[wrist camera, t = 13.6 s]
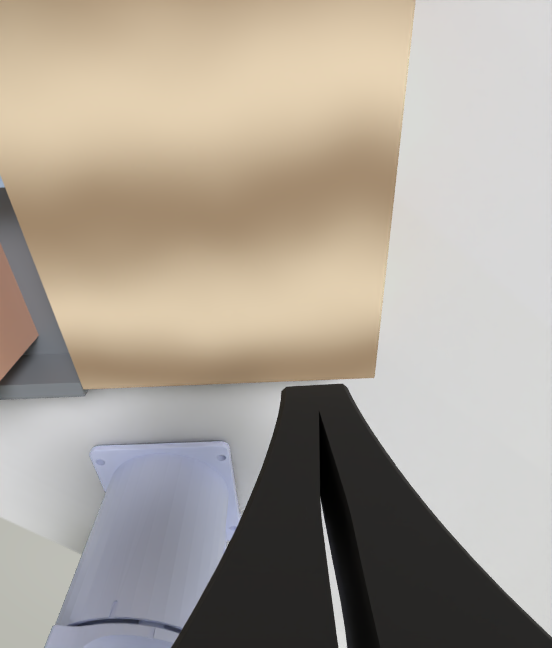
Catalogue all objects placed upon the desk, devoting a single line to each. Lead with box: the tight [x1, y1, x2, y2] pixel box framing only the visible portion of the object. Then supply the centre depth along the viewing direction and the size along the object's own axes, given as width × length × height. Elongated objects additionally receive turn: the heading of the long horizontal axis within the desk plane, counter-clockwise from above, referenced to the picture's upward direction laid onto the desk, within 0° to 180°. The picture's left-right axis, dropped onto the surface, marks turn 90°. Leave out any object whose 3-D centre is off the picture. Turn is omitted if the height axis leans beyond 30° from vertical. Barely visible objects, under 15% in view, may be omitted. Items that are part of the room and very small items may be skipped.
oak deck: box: [0, 0, 415, 389], centre depth 15 cm, size 14×12×4 cm
